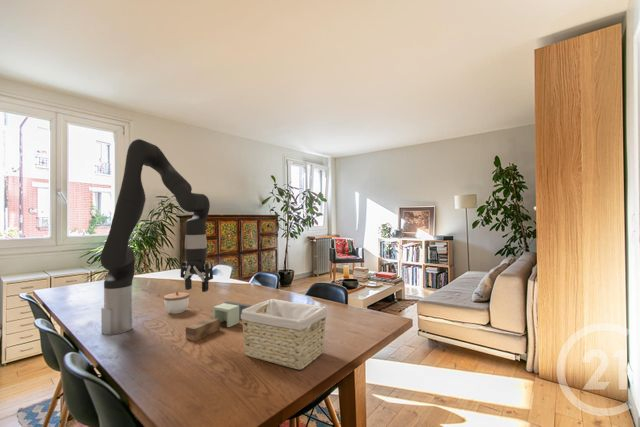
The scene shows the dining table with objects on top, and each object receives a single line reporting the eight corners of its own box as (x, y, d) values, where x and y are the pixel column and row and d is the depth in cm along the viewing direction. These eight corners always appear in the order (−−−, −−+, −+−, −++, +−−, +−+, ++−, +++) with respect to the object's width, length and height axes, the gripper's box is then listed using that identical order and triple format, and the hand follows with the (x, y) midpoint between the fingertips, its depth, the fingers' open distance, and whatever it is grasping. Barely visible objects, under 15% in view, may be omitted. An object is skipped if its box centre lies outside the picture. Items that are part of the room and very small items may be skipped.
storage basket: (238, 356, 96) (238, 309, 96) (271, 338, 110) (271, 297, 110) (301, 375, 84) (301, 321, 84) (329, 352, 98) (329, 306, 98)
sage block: (228, 327, 120) (228, 309, 120) (213, 324, 124) (213, 306, 124) (239, 322, 125) (239, 305, 125) (224, 319, 129) (224, 303, 129)
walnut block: (194, 341, 108) (194, 329, 108) (185, 339, 110) (185, 327, 110) (219, 330, 118) (219, 318, 118) (211, 328, 120) (211, 317, 120)
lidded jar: (182, 315, 136) (182, 294, 136) (159, 315, 136) (159, 294, 136) (193, 308, 147) (193, 288, 147) (171, 308, 147) (171, 288, 147)
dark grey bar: (252, 321, 127) (252, 307, 127) (224, 316, 135) (224, 302, 135) (260, 317, 132) (260, 304, 132) (232, 312, 139) (232, 299, 139)
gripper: (174, 247, 113) (174, 291, 112) (201, 248, 106) (202, 294, 106) (190, 245, 119) (191, 286, 119) (217, 246, 113) (218, 290, 113)
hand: (196, 290), depth 113 cm, fingers open, 8 cm apart
